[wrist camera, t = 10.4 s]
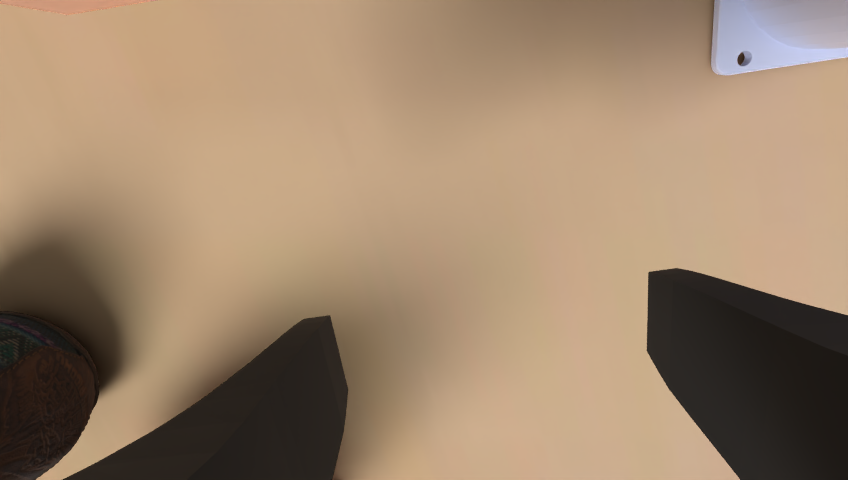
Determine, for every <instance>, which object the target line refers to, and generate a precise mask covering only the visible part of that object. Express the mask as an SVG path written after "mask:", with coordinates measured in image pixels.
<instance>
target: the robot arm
mask: <svg viewBox="0 0 848 480" xmlns="http://www.w3.org/2000/svg"><path fill="white" fill-rule="evenodd" d="M741 52H743V53H744V56H745V59H744V62H743V63H742V64H741V65H739V64H738V62H737V58H738V55H739V54H740V53H741ZM845 57H848V0H715V5H714V21H713V38H712V54H711V67H712V70H713V71H714V73H716V74H718V75H733V74H739V73H746V72H753V71H759V70H766V69H773V68H779V67H786V66H792V65H799V64H806V63H812V62H819V61H825V60H832V59H839V58H845ZM647 352H648V354H649V355H650V357H651V359H652V361H653V363H654V364H655V366H656V368H657V370H658V372H659V373H660V375H661V377H662V378H663V380H664V381H665V383H666V385H667V386H668V388H669V389H670V391H671V392H672V393H673V395H674V396H675V397H676V399H677V400H678V401H679V403H680V404H681V405H682V406H683V408H684V409H685V410H686V412H687V413H688V414H689V415H690V417H691V418H692V419H693V420H694V422H695V423H696V424H697V426H698V427H699V428H700V429H701V431H702V432H703V433H704V434H705V436H706V437H707V438H708V439H709V441H710V442H711V443H712V444H713V446H714V447H715V448H716V449H717V451H718V452H719V453H720V454H721V456H722V457H723V458H724V459H725V461H726V462H727V463H728V465H729V466H730V467H731V468H732V470H733V471H734V472H735V473H736V475H737V476H738V477H739V478H740V480H848V315H844V314H840V313H836V312H833V311H829V310H825V309H821V308H817V307H814V306H810V305H806V304H802V303H799V302H795V301H792V300H788V299H785V298H781V297H778V296H775V295H771V294H768V293H765V292H761V291H758V290H755V289H751V288H748V287H745V286H742V285H738V284H735V283H732V282H728V281H725V280H722V279H718V278H715V277H712V276H708V275H705V274H701V273H697V272H693V271H689V270H684V269H678V268H675V269H667V270H660V271H653V272H649V276H648V323H647ZM347 396H348V387H347V383H346V379H345V375H344V371H343V367H342V363H341V359H340V354H339V350H338V346H337V342H336V338H335V334H334V330H333V326H332V322H331V317H330V316H322V317H315V318H308V319H303V320H302V321H300V322H299V323H297V324H296V325H294V326H293V327H292V328H291V329H289V330H288V331H287V332H286V333H284V334H283V335H282V336H281V337H280V338H278V339H277V340H276V341H275V342H274V343H273V344H271V345H270V346H269V347H268V348H267V349H265V350H264V351H263V352H262V353H261V354H259V355H258V356H257V357H256V358H255V359H253V360H252V361H251V362H250V363H248V364H247V365H246V366H245V367H243V368H242V369H241V370H240V371H238V372H237V373H236V374H234V375H233V376H232V377H230V378H229V379H228V380H227V381H225V382H224V383H223V384H221V385H220V386H219V387H217V388H216V389H215V390H213V391H212V392H211V393H210V394H208V395H207V396H205V397H204V398H203V399H201V400H200V401H198V402H197V403H195V404H194V405H192V406H191V407H190V408H188V409H187V410H185V411H184V412H182V413H180V414H179V415H177V416H176V417H174V418H173V419H171V420H170V421H168V422H166V423H165V424H163V425H162V426H160V427H159V428H157V429H155V430H154V431H152V432H150V433H149V434H147V435H145V436H143V437H141V438H140V439H138V440H136V441H134V442H132V443H131V444H129V445H127V446H125V447H124V448H122V449H120V450H118V451H116V452H115V453H113V454H111V455H109V456H107V457H106V458H104V459H102V460H100V461H99V462H97V463H95V464H93V465H91V466H89V467H87V468H85V469H83V470H81V471H79V472H77V473H75V474H73V475H71V476H69V477H67V478H65V479H63V480H332V478H333V474H334V470H335V466H336V461H337V457H338V453H339V449H340V445H341V440H342V436H343V432H344V425H345V416H346V407H347Z"/></svg>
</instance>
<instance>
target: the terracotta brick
mask: <svg viewBox="0 0 848 480" xmlns="http://www.w3.org/2000/svg"><path fill="white" fill-rule="evenodd" d="M150 1H156V0H0V4H6V5H12V6H18V7H24V8H30V9H36V10H42V11H48V12H54V13H59V14H65V15H71V14H77V13H83V12H89V11H95V10H101V9H107V8H113V7H120V6H126V5H132V4H138V3H144V2H150Z"/></svg>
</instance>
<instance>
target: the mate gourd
mask: <svg viewBox="0 0 848 480" xmlns="http://www.w3.org/2000/svg"><path fill="white" fill-rule="evenodd" d="M98 395H99V383H98V375H97V370H96V366H95V364H94V362H93V361H92V359H91V357H90V355H89V353H88V352H87V350H86V349H85V348H84V347H83V346H82V345H81V344H80V343H79V342H78V341H77V340H76V339H75V338H74V337H73V336H72V335H70V334H69V333H67V332H66V331H65V330H63V329H62V328H59V327H57V326H55V325H53V324H51V323H49V322H47V321H46V320H43V319H40V318H37V317H34V316H31V315H25V314H21V313H15V312H9V311H0V480H36V479H37V478H38V477H40V476H42V474H43V473H45V472H47V471H48V470H49V469H50V468H52V467H54V465H55V464H57V463H58V462H59V461H60V460H61V459H62V458H63V457H64V456H65V455H66V454H67V453H68V452H69V451H70V450H71V449H72V448H73V446H74V445H75V444H76V443H77V440H78V439H79V437H80V436H81V433H82V431H84V429H85V426H86V425H87V423H88V420H89V419H90V414H91V413H92V410H93V408H94V407H95V405H96V403H97V399H98Z"/></svg>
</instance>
